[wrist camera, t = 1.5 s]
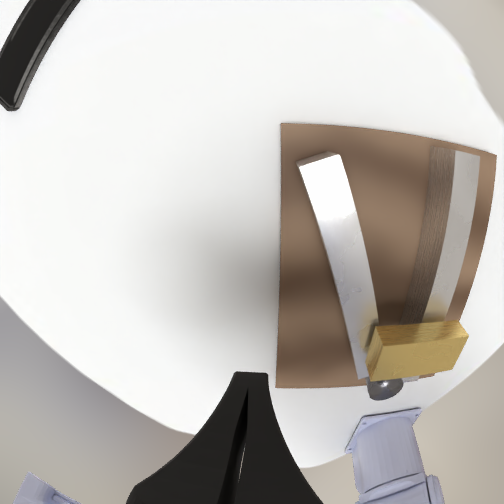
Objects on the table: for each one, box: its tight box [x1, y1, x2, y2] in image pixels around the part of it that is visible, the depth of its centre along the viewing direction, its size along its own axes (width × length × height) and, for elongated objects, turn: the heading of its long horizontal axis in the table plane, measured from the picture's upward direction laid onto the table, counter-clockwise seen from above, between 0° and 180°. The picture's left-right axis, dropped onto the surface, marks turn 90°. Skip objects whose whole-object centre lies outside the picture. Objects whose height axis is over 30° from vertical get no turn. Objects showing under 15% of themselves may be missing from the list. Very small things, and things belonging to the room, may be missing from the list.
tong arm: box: [296, 151, 379, 380], centre depth 16 cm, size 15×2×3 cm, turn 21°
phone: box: [0, 0, 80, 111], centre depth 12 cm, size 8×1×15 cm
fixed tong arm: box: [365, 146, 480, 400], centre depth 16 cm, size 18×4×4 cm, turn 1°
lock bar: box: [365, 320, 469, 381], centre depth 15 cm, size 3×6×2 cm, turn 91°
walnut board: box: [275, 123, 497, 388], centre depth 19 cm, size 21×16×1 cm
